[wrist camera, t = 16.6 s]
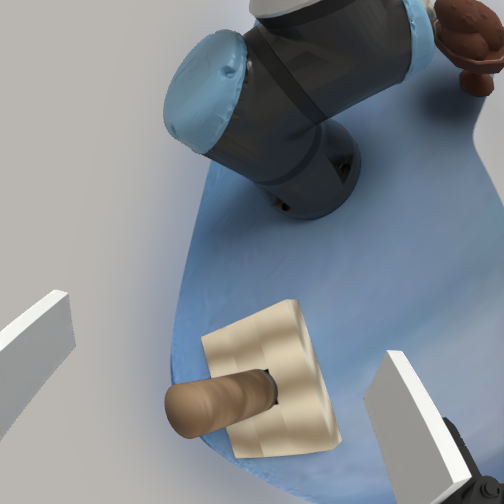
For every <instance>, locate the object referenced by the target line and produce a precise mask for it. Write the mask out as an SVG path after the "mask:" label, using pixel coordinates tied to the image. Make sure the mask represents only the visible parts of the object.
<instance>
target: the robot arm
mask: <svg viewBox="0 0 504 504" xmlns="http://www.w3.org/2000/svg"><path fill="white" fill-rule="evenodd" d="M249 11H250V13H251V14H252V15H253V16H254V17H255V18H256V19H257V20H258V21H259V22H260V24H258V25H257V26H255V27H254V28H252V29H251V30H250V31H248V32H247V33H245V34H244V35H243V36H242V35H241V34H239V33H237V32H235V31H231V30H226V29H225V30H219V31H216V32H215V34H210V35H208V36H207V37H205V38H204V39H203V40H202V41H200V42H199V43H198V44H197V45H196V46H195V47H194V48H193V49H192V50H191V52H190V53H189V54H188V55H187V56H186V58H185V59H184V60H183V62H182V63H181V65H180V66H179V68H178V70H177V71H176V73H175V75H174V77H173V79H172V81H171V84H170V86H169V88H168V91H167V94H166V98H165V102H164V110H163V117H164V123H165V126H166V129H167V130H168V132H169V133H170V135H171V136H172V137H174V138H175V139H177V140H178V141H180V142H181V143H183V144H185V145H186V146H188V147H189V148H191V149H192V151H193V152H195V153H198V154H202V155H204V156H206V157H208V158H210V159H211V160H213V161H215V162H217V163H219V164H221V165H223V166H225V167H227V168H229V169H231V170H233V171H235V172H236V173H238V174H240V175H242V176H244V177H246V178H248V179H250V180H251V181H253V182H254V183H255V185H256V186H257V187H258V189H259V190H260V192H261V193H262V195H263V196H264V198H265V199H266V200H267V202H268V203H269V204H270V205H271V206H272V207H274V208H275V209H276V210H278V211H280V212H282V213H283V214H285V215H287V216H290V217H292V218H296V219H314V218H318V217H321V216H324V215H326V214H328V213H330V212H332V211H334V210H335V209H336V208H338V207H339V206H340V205H341V204H342V203H343V202H344V201H345V200H346V199H347V198H348V197H349V195H350V194H351V193H352V191H353V189H354V187H355V185H356V183H357V181H358V178H359V174H360V167H361V159H360V153H359V149H358V147H357V144H356V143H355V141H354V139H353V138H352V137H351V135H350V134H349V132H348V131H347V130H346V129H345V128H344V127H343V126H342V125H341V124H339V123H338V122H336V121H334V120H332V119H330V118H331V117H333V116H335V115H336V114H338V113H340V112H342V111H344V110H346V109H348V108H350V107H351V106H353V105H355V104H357V103H359V102H361V101H363V100H365V99H367V98H369V97H371V96H373V95H375V94H377V93H379V92H381V91H383V90H385V89H387V88H389V87H391V86H393V85H395V84H400V83H402V82H403V81H406V80H407V79H408V78H409V76H411V75H413V74H415V73H416V72H418V71H420V70H422V69H424V68H425V67H426V66H427V65H428V64H429V63H430V61H431V59H432V57H433V53H434V35H433V30H432V26H431V23H430V20H429V17H428V14H427V12H426V10H425V8H424V6H423V4H422V2H421V0H250V4H249ZM75 347H76V344H75V339H74V333H73V326H72V320H71V312H70V304H69V294H68V293H66V292H62V291H59V290H56V289H55V290H53V291H52V292H51V293H49V294H48V295H46V296H45V297H44V298H42V299H41V300H40V301H39V302H37V303H36V304H35V305H33V306H32V307H31V308H29V309H28V310H27V311H25V312H24V313H23V314H22V315H20V316H19V317H18V318H17V319H15V320H14V321H13V322H12V323H11V324H9V325H8V326H7V327H5V328H4V329H3V330H2V331H1V332H0V441H1V439H2V438H3V437H4V435H5V434H6V433H7V431H8V430H9V428H10V427H11V425H12V424H13V423H14V422H15V420H16V419H17V418H18V416H19V415H20V414H21V413H22V411H23V410H24V409H25V407H26V406H27V404H28V403H29V402H30V401H31V400H32V398H33V397H34V396H35V395H36V393H37V392H38V391H39V390H40V388H41V387H42V386H43V384H45V382H46V381H47V380H48V379H49V377H50V376H51V375H52V374H53V373H54V371H55V370H56V369H57V368H58V367H59V365H60V364H61V363H62V362H63V361H64V360H65V358H66V357H67V356H68V355H69V354H70V353H71V351H72V350H73V349H74V348H75ZM363 400H364V403H365V406H366V409H367V412H368V414H369V417H370V420H371V423H372V426H373V429H374V432H375V435H376V438H377V441H378V444H379V447H380V450H381V453H382V456H383V459H384V463H385V466H386V469H387V472H388V475H389V479H390V482H391V485H392V489H393V492H394V496H395V499H396V503H397V504H504V484H500V483H499V482H498V481H497V480H496V479H495V478H493V477H491V476H483V477H482V475H481V474H480V472H479V470H478V468H477V466H476V464H475V462H474V460H473V458H472V456H471V454H470V452H469V450H468V449H467V447H466V446H465V443H464V441H463V439H462V438H460V434H459V432H458V430H457V429H456V427H455V425H454V424H453V423H451V422H450V421H449V420H448V419H447V418H446V417H444V418H441V416H440V414H439V412H438V410H437V409H436V407H435V405H434V403H433V402H432V400H431V398H430V397H429V395H428V393H427V391H426V390H425V388H424V386H423V385H422V383H421V381H420V380H419V378H418V376H417V375H416V373H415V371H414V370H413V368H412V366H411V365H410V363H409V362H408V360H407V358H406V357H405V355H404V354H403V352H402V351H390V350H387V351H386V353H385V355H384V358H383V360H382V362H381V364H380V366H379V368H378V370H377V372H376V374H375V376H374V378H373V380H372V382H371V384H370V386H369V388H368V390H367V392H366V394H365V396H364V397H363Z"/></svg>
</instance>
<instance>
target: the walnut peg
mask: <svg viewBox="0 0 504 504" xmlns="http://www.w3.org/2000/svg"><path fill="white" fill-rule="evenodd" d="M277 398H278V388H277V385H276V382H275V380H274V379H273V377H272V376H271V375H270V374H269V373H268V372H266V371H264V370H261V369H252V370H248V371H244V372H239V373H234V374H230V375H225V376H220V377H215V378H210V379H204V380H199V381H193V382H187V383H181V384H175V385H172V386H171V387H170V388H169V389H168V390H167V393H166V395H165V411H166V415H167V418H168V420H169V422H170V424H171V426H172V427H173V428H174V430H175V431H176V432H177V433H178V434H179V435H181V436H182V437H184V438H187V439H192V438H196V437H199V436H202V435H205V434H208V433H210V432H213V431H216V430H219V429H222V428H224V427H227V426H230V425H232V424H235V423H238V422H240V421H243V420H245V419H248V418H250V417H253V416H255V415H257V414H260V413H262V412H264V411H267V410H269V409H271V408H272V407H273V406H274V405H275V403H276V401H277Z"/></svg>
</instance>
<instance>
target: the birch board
mask: <svg viewBox="0 0 504 504" xmlns="http://www.w3.org/2000/svg"><path fill="white" fill-rule="evenodd" d="M201 339H202V343H203V347H204V351H205V355H206V359H207V363H208V367H209V371H210V374H211V378H215V377H220V376H225V375H230V374H234V373H239V372H244V371H248V370H252V369H261V370H267V369H268V370H269V373H270V375H271V376H272V377H273V379H274V380H275V382H276V385H277V388H278V398H277V399H278V402H276V403H275V405H274V406H273V407H272V408H271V409H269V410H267V411H264V412H262V413H260V414H257V415H255V416H253V417H250V418H248V419H245V420H243V421H240V422H238V423H235V424H232V425H230V426H227V427H226V430H227V433H228V436H229V439H230V442H231V445H232V448H233V452H234V455H235V458H258V457H274V456H286V455H296V454H305V453H313V452H320V451H326V450H332V449H334V448H335V447H336V446H337V445H338V444H339V443H340V442H341V441H342V439H341V436H340V432H339V429H338V426H337V422H336V419H335V416H334V412H333V409H332V406H331V402H330V399H329V396H328V393H327V390H326V386H325V383H324V380H323V377H322V374H321V370H320V367H319V364H318V361H317V358H316V355H315V352H314V349H313V346H312V342H311V339H310V336H309V333H308V330H307V327H306V324H305V321H304V318H303V315H302V312H301V309H300V306H299V303H298V300H289V299H285V300H283V301H281V302H279V303H277V304H275V305H272V306H270V307H268V308H266V309H264V310H262V311H259V312H257V313H255V314H253V315H251V316H248V317H246V318H244V319H242V320H239V321H237V322H235V323H232V324H230V325H228V326H226V327H223V328H221V329H219V330H216V331H214V332H212V333H209V334H207V335H205V336H202V337H201Z"/></svg>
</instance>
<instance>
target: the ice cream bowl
mask: <svg viewBox="0 0 504 504" xmlns="http://www.w3.org/2000/svg"><path fill="white" fill-rule="evenodd" d="M434 9H435V12H436V16H437V17H436V18H435V19H434V20H433V21H431V26H432V30H433V35H434V43H435V45H436V46H437V48H438V49H439V50H440V51H441V52H442V53H443V54H444V55H445V56H446V57H447V58H448V59H449V60H450V61H451V62H452V63H453V64H454V65H455V66H456V67H459V68H461V69H464V70H463V71H462V72H461V73H460V84H461V85H462V86H463V87H464V88H465V90H466V91H467V92H469V93H471V94H473V95H476V96H478V97H480V96H489V95H490V94H491V93H492V91H493V90H494V83H493V79H492V77H491V76H490V75H489V74H494V73H499V72H500V71H501V70H502V69H503V68H504V27H503V26H502V24H501V22H500V19H499V18H498V16H497V15H496V13H494V12H493V11H492V10H491V9H490V8H488V7H487V6H486V5H484V4H483V3H481V2H479V1H476V0H436V2H435V4H434Z"/></svg>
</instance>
